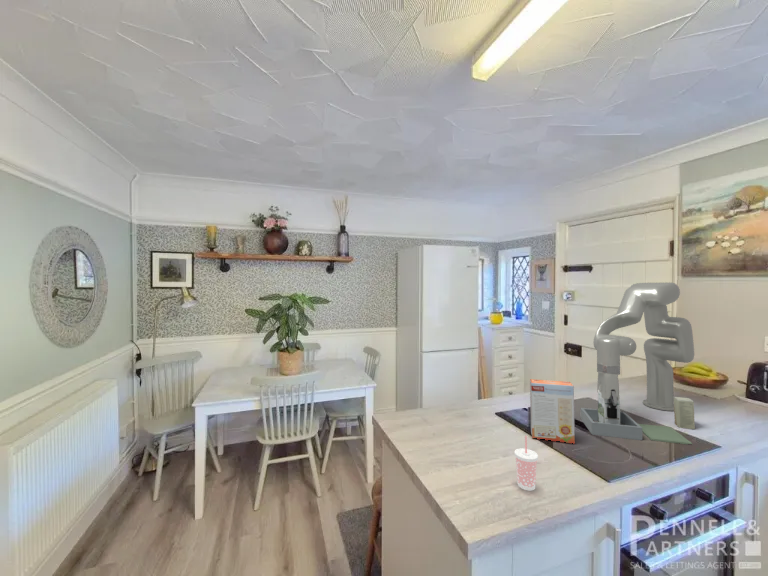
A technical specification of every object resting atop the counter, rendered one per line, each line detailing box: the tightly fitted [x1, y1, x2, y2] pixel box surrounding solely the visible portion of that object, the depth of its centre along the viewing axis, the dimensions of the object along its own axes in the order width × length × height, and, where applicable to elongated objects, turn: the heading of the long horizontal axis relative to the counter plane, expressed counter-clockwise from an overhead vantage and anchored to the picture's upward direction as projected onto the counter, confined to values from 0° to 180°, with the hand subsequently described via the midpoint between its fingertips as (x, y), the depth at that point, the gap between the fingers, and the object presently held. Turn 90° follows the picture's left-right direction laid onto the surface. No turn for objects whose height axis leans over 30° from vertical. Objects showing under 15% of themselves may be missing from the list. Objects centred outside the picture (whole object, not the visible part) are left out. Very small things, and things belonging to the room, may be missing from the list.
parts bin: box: [580, 407, 643, 441], centre depth 127 cm, size 16×16×4 cm
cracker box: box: [529, 379, 576, 445], centre depth 119 cm, size 14×6×21 cm, turn 71°
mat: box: [638, 423, 693, 445], centre depth 122 cm, size 14×12×1 cm
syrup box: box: [597, 390, 621, 425], centre depth 127 cm, size 6×6×14 cm
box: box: [673, 396, 696, 430], centre depth 128 cm, size 5×4×11 cm
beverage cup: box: [514, 435, 539, 491], centre depth 91 cm, size 6×6×14 cm
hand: (608, 414), depth 127 cm, fingers closed on syrup box, 6 cm apart
